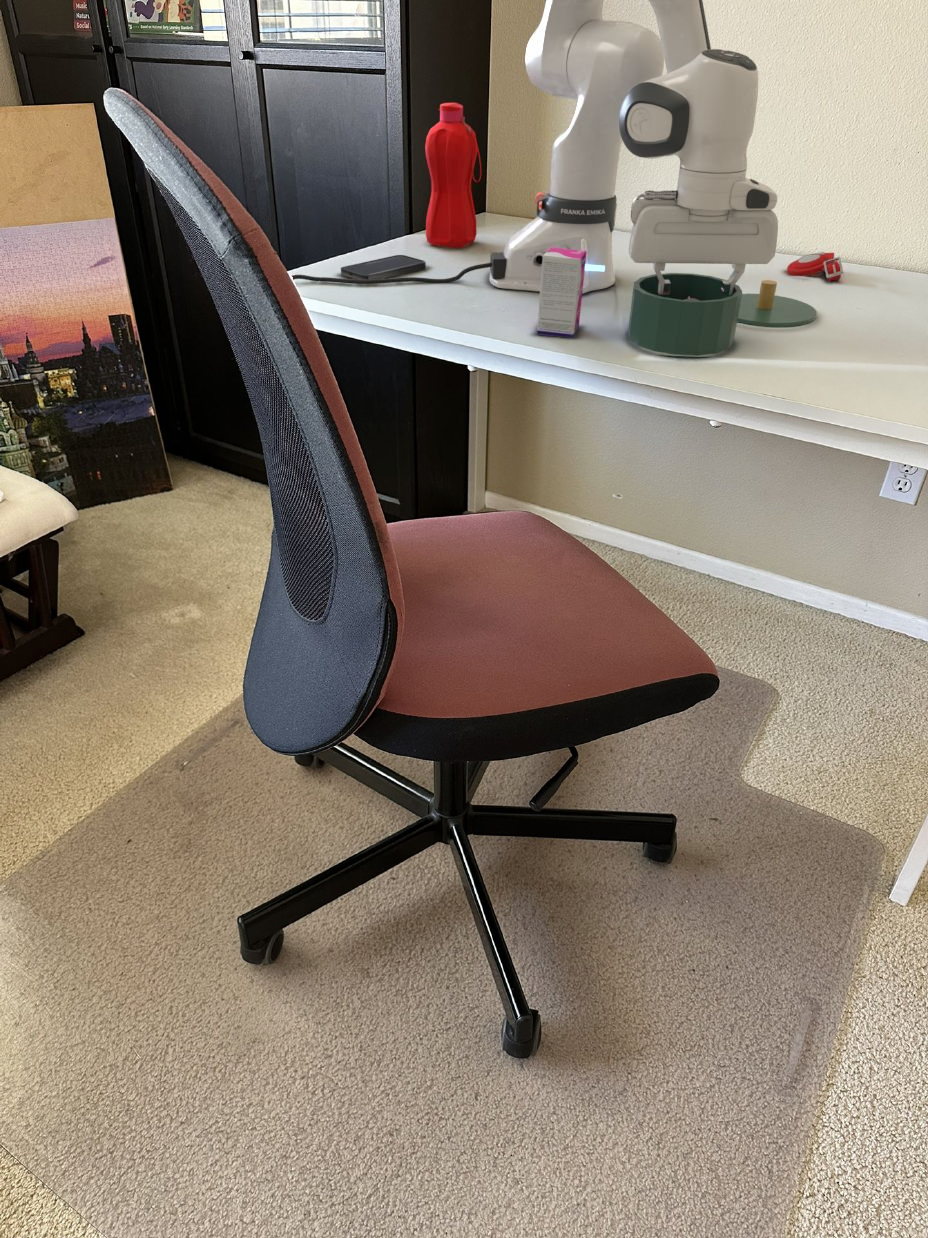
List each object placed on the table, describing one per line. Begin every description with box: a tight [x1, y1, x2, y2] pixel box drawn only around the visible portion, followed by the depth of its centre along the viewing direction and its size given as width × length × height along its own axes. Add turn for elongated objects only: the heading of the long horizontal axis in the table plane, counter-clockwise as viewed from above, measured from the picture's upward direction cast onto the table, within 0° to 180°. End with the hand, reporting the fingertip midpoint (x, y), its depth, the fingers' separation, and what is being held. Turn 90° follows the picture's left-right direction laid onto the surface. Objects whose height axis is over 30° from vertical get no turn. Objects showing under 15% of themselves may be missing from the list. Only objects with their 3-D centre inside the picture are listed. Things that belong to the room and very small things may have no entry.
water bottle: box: [424, 102, 482, 249], centre depth 176 cm, size 9×11×25 cm
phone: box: [340, 254, 427, 280], centre depth 165 cm, size 8×1×15 cm
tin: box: [627, 272, 743, 360], centre depth 132 cm, size 15×15×8 cm
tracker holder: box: [786, 251, 845, 282], centre depth 164 cm, size 12×4×10 cm
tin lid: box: [737, 279, 818, 328], centre depth 144 cm, size 16×16×5 cm
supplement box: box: [536, 248, 587, 339], centre depth 135 cm, size 6×6×12 cm
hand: (694, 294), depth 131 cm, fingers open, 8 cm apart
